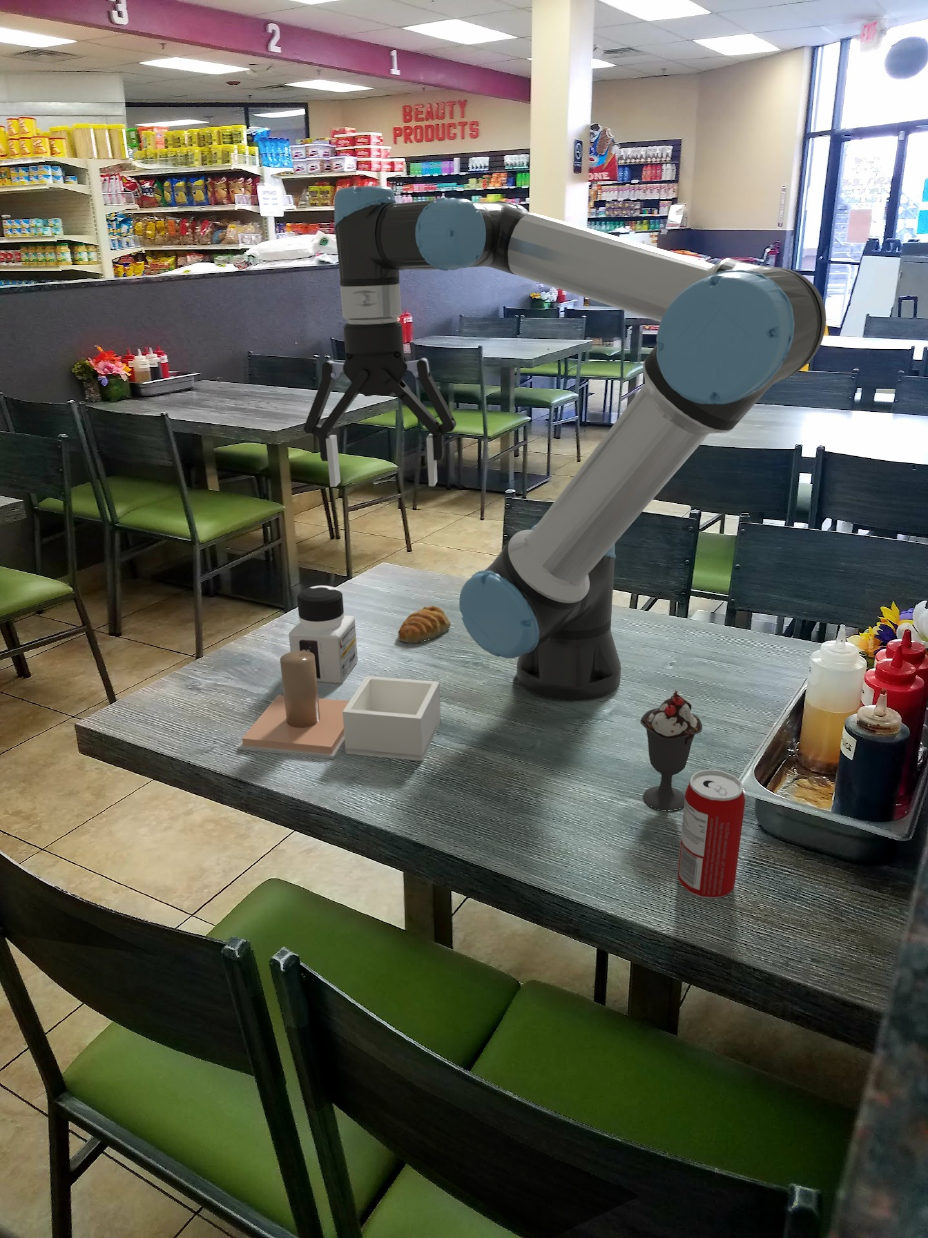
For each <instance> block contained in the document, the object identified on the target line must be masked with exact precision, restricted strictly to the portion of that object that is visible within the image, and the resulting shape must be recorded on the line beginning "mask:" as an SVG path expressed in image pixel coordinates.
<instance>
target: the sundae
mask: <svg viewBox="0 0 928 1238" xmlns="http://www.w3.org/2000/svg"><path fill="white" fill-rule="evenodd" d="M672 694H673V695H671V697H670V698H667V699H665V700H664V701H662V703H661V704H660V706H659V707H658V708H652V709H650V710H648V711H646V712H645V713H644V714H643V715H642V717H641V718H640V721H639V722H640V724H641V725H642V726H643V727H644V728H645V729H646V736H647V746H648V747H647V749H648V750H647V751H648V757H649V763H650V764H651V766H652V768H653V769H654V770H655V771H657V773H659V774H661V777H660V784H659V785H656V786H652V787H649V788H648V789H646V790H645V791H644V792H643V794H642V799H643V801H644V803H645V804H647V806H649V807H650V806H652V807H651V808H652V809H654V808H656V809H655V810H657V809H659V810H658V811H661V810H666V811H665V812H669V811H668V810H674V809H679V808H681V809H683V808H684V807H683V806H684V801H685V793H683V792H682V791H681V790H679V789H677V788H674V787H673V786H672V782H673V781H672V780H673V776H674V775H677V774H679V773H680V772H682V771H683V770H684V769H685V768H686V765H687V762H688V760H689V757H690V752H691V748H692V744H693V740H694V738H695V735H698V734H700V733H701V732H702V731H703V723H702V721H701V719H700V718H699V717H698V716H697V715H695V713H692V703H690V702H688V701H687V700H686V699H685V698H684V697H683V696H681V695H679V694H678V691H677V690H674V693H672ZM682 807H683V808H682ZM679 810H680V809H679Z"/></svg>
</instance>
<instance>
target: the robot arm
mask: <svg viewBox="0 0 928 1238" xmlns="http://www.w3.org/2000/svg"><path fill="white" fill-rule="evenodd" d="M333 200H334V201H333V202H334V203H333V204H334V205H333V206H334V207H333V211H334V214H333V217H334V224H333V228H334V229H333V230H334V233H335V244H336V251H337V261H338V270H339V271H338V272H339V285H340V286H339V288H340V289H339V290H340V300H341V303H340V304H341V311H342V312H341V313H342V314H341V315H342V318H343V319H344V320H347V323H345V324H344V326H343V337H344V338H343V339H344V350H345V351H344V352H345V360H344V362H337V361H335V360H333V359H329V360H326V361H325V362H323V363H322V366H321V381H320V383H319V386H318V389H317V391H316V394H315V396H314V399H313V402H312V405H311V407H310V410H309V413H308V415H307V418H306V420H305V423H304V426H303V432H304V433H306V434H311V435H314V436H316V437H317V439H318V445H319V455H320V460H321V461H322V462H327V465H328V477H329V486H330V488H332V487H333V488H335V487H336V488H337V486H338V485H339V484H340V483H341V473H340V461H339V449H338V438H337V434H331V433H332V431H333V429H334V428H335V427H336V425H337V424H338V422H339V421H340V420H341V419H342V417H343V416H344V414H345V413H346V411H347V410H348V408H349V407H350V406H351V405H352V403H353V402H354V401H355V399H356V398H357V397H358V396H359V394H361V395H363V396H364V397H372V396H375V395H376V396H381V397H387V396H390V395H392V394H394V395H395V397H397V398H398V399H399V400H401V402H403V404H405V406H406V407H407V409H409V410H410V412H411V413H412V414H413V415H414V416H415V417H416V418H417V419H418V420H419V422H421V424H422V425H423V427H425V429H426V430H427V431H428V432H429V434H428V435H427V437H426V454H427V455H426V457H427V458H426V459H427V477H428V487H435V486H436V484H437V483H438V468H437V466H438V465H437V464H438V463H437V461H442V459H444V458H443V457H444V455H445V452H444V451H445V450H444V449H445V448H444V435H445V434H447V433H450V432H451V433H452V432H453V431H454V430H455V428H456V426H457V421H456V419H455V418H454V415H453V414H452V412H451V410H450V408H449V406H448V404H447V402H446V400H445V399H444V397H443V395H442V393H441V391H440V389H439V387H438V385H437V384H436V382H435V380H434V378H433V376H432V373H431V367H430V361H429V359H428V358H426V357H422V358H420V359H417V360H410V361H407V359H406V357H405V350H404V348H405V347H404V333H403V331H404V330H403V324H402V323H401V321H398V318H400V317H401V316H402V314H403V313H402V301H401V299H402V298H401V296H402V295H401V283H400V281H401V280H400V271H405V270H415V271H416V270H417V271H419V270H422V271H423V270H424V271H425V270H426V271H427V270H431V271H433V270H440V271H444V272H446V271H447V272H448V271H456V270H459V269H466V268H477V267H478V268H479V267H481V268H482V267H487V268H492V269H495V270H498V271H501V272H505V273H508V274H511V275H515V276H519V277H521V278H524V279H527V280H531V281H533V282H536V283H539V284H542V285H546V286H548V287H551V288H555V289H557V290H561V291H564V292H567V293H570V294H574V295H576V296H579V297H583V298H586V299H589V300H592V301H593V302H594V301H595V302H598V303H601V304H604V305H607V306H610V307H612V308H615V309H619V310H622V311H624V312H625V311H626V312H629V313H630V314H635V315H637V316H640V317H643V318H647V319H649V320H651V321H652V320H653V321H655V322H659V326H658V328H657V333H656V344H655V346H653V348H652V349H651V351H650V352H649V354H648V355H647V357H646V358H645V359H644V360H643V363H642V370H643V376H644V377H643V378H644V384H643V386H642V387H641V388H640V389H639V391H638V392H637V393H636V395H635V396H634V397H633V399H632V400H631V401H630V402H629V404H628V405H627V407H626V408H625V409H624V410H623V412H621V414H620V416H619V417H618V418H617V419H616V421H615V422H614V423H613V425H612V426H611V428H610V429H609V430H608V431H607V432H606V434H605V436H604V437H602V439H601V441H600V442H599V443H598V445H596V447H595V448H594V449H593V450H592V452H591V454H590V455H589V456H588V457H587V458H586V460H585V461H584V462H583V464H581V467H580V468H579V469H578V470H577V472H576V473H575V475H574V476H573V477H572V479H571V480H570V481H569V482H568V483H567V485H566V486H565V487H564V489H563V490H562V492H561V493H560V494H559V495H558V497H557V498H556V499H555V500H554V502H553V503H552V504H551V506H550V507H549V509H547V511H546V512H545V513H544V515H543V516H542V518H541V519H540V520H539V521H538V523H537V524H535V525H533V526H532V527H531V529H524V530H519V531H517V532H516V533H515V534H514V535H512V537H511V538H510V540H508V542H507V543H506V545H505V546H504V547H503V549H502V550H501V551H500V553H499V554H497V557H496V558H495V559H494V560H493V562H492V563H491V564H490V565H488V567H487V568H485V569H484V570H479V571H477V572H475V573H474V574H473V575H471V577H470V578H469V579H468V580H466V582H464V584H463V586H462V588H461V589H460V593H459V598H458V599H459V601H458V603H459V605H458V606H459V611H460V613H461V616H462V617H461V620H462V623H463V625H464V628H465V629H466V631H467V633H468V634H469V636H470V637H471V638H472V640H473V641H474V642H475V643H476V644H477V645H478V646H479V647H480V648H481V649H483V650H484V652H487V653H489V654H490V655H492V656H495V657H499V658H500V657H501V658H504V659H516V658H517V660H516V661H517V662H516V679H517V682H518V683H519V684H520V686H521V687H522V688H524V689H525V690H526V691H528V692H530V693H532V694H534V695H535V696H536V695H537V696H539V697H541V698H546V699H549V700H550V699H551V700H557V701H564V702H565V701H567V702H568V701H570V702H572V701H573V702H577V701H578V702H579V701H580V702H581V701H588V700H594V699H597V698H601V697H604V696H606V695H608V694H610V693H612V692H614V691H615V690H616V689H617V688H618V687H619V686H620V683H621V674H622V673H621V672H622V665H621V661H620V657H619V655H618V650H617V648H616V645H615V641H614V637H613V634H612V613H613V612H612V608H613V597H614V596H613V594H614V582H615V581H614V579H615V578H614V577H615V562H616V558H617V555H616V554H615V553H616V551H615V550H616V547H615V546H616V545H615V544H616V542H618V540H619V539H620V538H621V537H622V535H623V534H624V533H625V532H627V529H629V527H630V526H631V525H632V523H634V521H635V520H637V518H638V517H639V516H640V515H641V513H643V511H644V510H645V509H646V507H647V506H648V505H649V504H650V503H651V502H652V501H653V499H654V498H655V497H657V495H658V494H659V493H660V492H661V491H662V489H663V488H664V487H665V485H667V483H668V482H669V481H670V480H671V478H673V476H674V475H675V474H676V473H677V471H678V470H680V468H681V467H682V466H683V464H685V462H686V461H687V460H688V459H689V458H690V456H691V455H692V454H693V453H694V452H695V451H696V450H697V449H698V448H699V446H700V445H701V444H702V443H703V442H704V440H705V439H707V437H708V436H709V435H710V434H726V433H729V432H731V431H732V430H733V429H735V427H736V426H737V425H738V424H739V422H740V421H741V420H742V419H743V418H744V417H745V415H747V413H748V412H749V411H750V410H751V409H752V408H753V407H754V406H755V405H756V404H757V402H758V401H759V400H760V399H761V398H762V397H763V396H764V394H765V393H766V392H767V391H768V390H769V389H770V388H771V387H772V386H773V385H774V384H776V383H779V382H780V381H782V380H785V379H788V378H789V377H792V376H794V375H795V374H797V373H798V372H800V371H801V370H802V369H803V368H804V367H806V366H807V365H808V364H809V363H810V361H811V360H812V359H813V358H814V356H815V355H816V354H817V352H818V351H819V349H820V347H821V345H822V342H823V340H824V337H825V332H826V328H827V327H826V326H827V325H826V324H827V314H826V313H827V312H826V306H825V304H824V300H823V297H822V295H821V293H820V292H819V290H818V288H817V287H816V286H815V285H814V284H813V282H811V281H810V280H809V279H808V278H807V277H805V276H804V275H802V274H801V273H800V272H797V271H795V270H792V269H790V268H785V267H784V268H783V267H778V266H777V267H776V266H774V267H773V266H764V265H759V264H753V263H749V262H746V261H745V262H744V261H741V260H737V259H734V258H725V259H723V260H721V261H720V262H718V263H716V264H713V263H711V262H706V261H704V260H700V259H696V258H693V257H690V256H686V255H683V254H679V253H675V252H672V251H668V250H665V249H661V248H658V247H654V246H651V245H647V244H644V243H639V242H637V241H634V240H630V239H626V238H623V237H620V236H616V235H612V234H609V233H606V232H602V231H600V230H599V231H598V230H595V229H591V228H587V227H584V226H580V225H578V224H574V223H570V222H567V221H564V220H559V219H556V218H552V217H549V216H546V215H542V214H538V213H534V212H530V211H529V210H528V209H526V208H525V207H524V206H522V205H520V204H517V203H514V202H513V203H512V202H509V201H504V200H497V201H492V202H491V201H489V202H488V201H471V200H469V199H466V198H455V197H438V198H436V199H428V200H419V201H410V202H397V201H396V197H395V192H394V190H393V189H392V188H391V187H389V186H387V185H386V186H385V185H364V186H348V187H343V188H340V189H338V190H337V191H336V192H335V194H334V199H333ZM408 371H410V372H411V373H412V374H413V376H414V377H415V378H418V379H419V383H420V384H421V387H422V388H423V391H424V392H425V393H426V395H427V397H428V399H429V401H430V403H431V405H432V407H433V409H434V410H435V413H436V414H437V416H438V418H439V420H440V421H441V423H440V422H439V421H438V419H437V418H436V417H435V416H434V415H433V414H432V413H431V412H430V411H429V409H428V408H427V407H426V406H425V405H424V404H423V403H422V402H421V401H420V399H419V398H418V397H417V395H415V394H414V393H413V392H412V391H411V387H409V386H408V385H407V383H406V382H405V381H404V380H403V379H404V378H405V377H406V375H407V373H408ZM342 372H343V373H344V375H345V376H346V377H347V379H348V380H349V382H351V383H350V385H349V386H348V387H347V389H346V391H344V393H343V396H342V397H341V398H340V399H339V401H338V402H337V403H336V405H335V406H334V408H333V409H332V410H331V412H330V414H329V415H328V416H327V418H326V419H325V421H324V422H323V423H322V424H320V421H321V419H322V415H323V414H324V411H325V408H326V406H327V402H328V401H329V398H330V395H331V392H332V389H333V387H334V384H335V381H336V380H337V379H338V378H340V376H341V374H342Z"/></svg>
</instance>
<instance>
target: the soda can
mask: <svg viewBox="0 0 928 1238" xmlns="http://www.w3.org/2000/svg"><path fill="white" fill-rule="evenodd" d="M744 792H745V791H744V785H743V782H742V781H741V780H740V779H739V777H737V776H736V775H733V774H731V773H729V772H726V771H723V770H719V769H703V770H699V771H697V772H695V773H694V774H692V775H691V777H690V780H689V783H688V785H687V787H686V789H685V793H684V795H685V801H684V807H683V812H682V813H683V814H682V823H681V833H680V843H679V854H678V855H679V856H678V866H677V880H678V881H679V883H680V885H682V887H684V889H686V891H688V893H689V894H691V895H694V896H695V895H696V897H698V898H700V897H701V898H702V899H710V900H712V898H713V899H714V898H715V899H718V898H722V896H723V897H725V896H727V895H728V894H730V893H731V892H732V891H733V890H734V889H735V886H736V885H735V884H736V878H737V869H738V861H739V855H740V854H739V853H740V848H741V847H740V846H741V840H742V839H741V836H742V832H743V831H742V829H743V824H744V823H743V821H744V814H745V807H746V805H745V804H746V798H745V794H744Z"/></svg>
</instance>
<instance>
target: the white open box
mask: <svg viewBox="0 0 928 1238" xmlns="http://www.w3.org/2000/svg"><path fill="white" fill-rule="evenodd" d="M440 685H441V684H440V681H435V680H424V679H423V680H421V679H410V678H408V679H407V678H400V677H399V678H397V677H386V676H371V675H366V676H365V678H364V679H363V681H362V682H361V684H360V685H359V687H358V688H357V690H356V691H355V693H353V696H351V699H350V700H348V701H349V703H348V704H347V706H346V707H345V709H344V710H343V724H344V737H345V743H344V748H345V754H349V755H359V756H368V757H378V758H389V759H398V760H399V759H400V760H407V761H418V762H423V761H424V759H425V756H426V755H427V752H428V750H429V749H430V746H431V744H432V742H433V740H434V737H435V735H436V733H437V731H438V729H439V726H440V724H441V722H442V720H441V719H442V717H441V693H440V692H441V689H440V688H441V687H440Z"/></svg>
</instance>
